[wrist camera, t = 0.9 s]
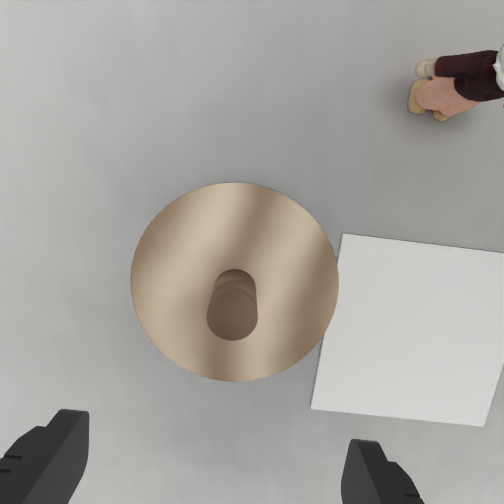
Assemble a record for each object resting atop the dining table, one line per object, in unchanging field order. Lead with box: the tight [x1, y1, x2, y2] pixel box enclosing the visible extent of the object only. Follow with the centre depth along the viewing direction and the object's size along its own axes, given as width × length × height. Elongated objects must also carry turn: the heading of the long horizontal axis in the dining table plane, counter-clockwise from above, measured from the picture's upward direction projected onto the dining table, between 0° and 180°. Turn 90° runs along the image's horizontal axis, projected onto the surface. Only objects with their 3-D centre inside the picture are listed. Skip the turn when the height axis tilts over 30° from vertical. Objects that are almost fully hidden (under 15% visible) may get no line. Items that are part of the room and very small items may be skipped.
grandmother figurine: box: [408, 44, 504, 122], centre depth 23 cm, size 8×4×13 cm, turn 84°
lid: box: [130, 182, 339, 382], centre depth 23 cm, size 15×15×6 cm
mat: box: [310, 233, 504, 427], centre depth 34 cm, size 18×18×1 cm
